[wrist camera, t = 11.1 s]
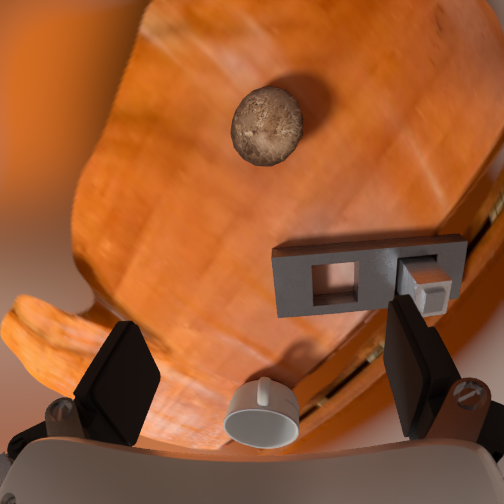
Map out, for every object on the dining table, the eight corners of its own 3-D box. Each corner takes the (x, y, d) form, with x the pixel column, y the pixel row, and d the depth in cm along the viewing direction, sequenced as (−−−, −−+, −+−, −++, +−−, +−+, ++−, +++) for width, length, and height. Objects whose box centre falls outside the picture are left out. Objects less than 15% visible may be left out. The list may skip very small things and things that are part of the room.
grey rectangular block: (394, 252, 36) (419, 287, 29) (424, 249, 36) (454, 283, 28) (392, 282, 38) (414, 321, 30) (421, 279, 38) (447, 316, 30)
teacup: (287, 416, 50) (287, 454, 43) (225, 405, 50) (218, 443, 43) (313, 361, 44) (317, 403, 37) (240, 347, 44) (232, 388, 37)
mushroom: (335, 140, 29) (300, 131, 24) (278, 182, 34) (238, 182, 30) (296, 81, 30) (258, 65, 26) (248, 125, 35) (207, 118, 31)
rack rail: (278, 306, 41) (277, 317, 38) (272, 248, 38) (271, 257, 35) (450, 288, 38) (458, 297, 35) (458, 233, 35) (467, 241, 32)
